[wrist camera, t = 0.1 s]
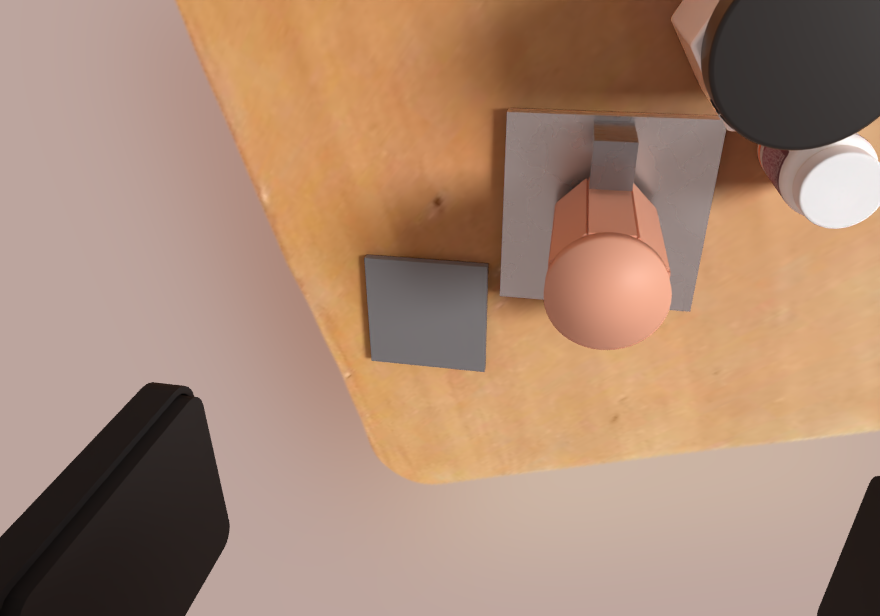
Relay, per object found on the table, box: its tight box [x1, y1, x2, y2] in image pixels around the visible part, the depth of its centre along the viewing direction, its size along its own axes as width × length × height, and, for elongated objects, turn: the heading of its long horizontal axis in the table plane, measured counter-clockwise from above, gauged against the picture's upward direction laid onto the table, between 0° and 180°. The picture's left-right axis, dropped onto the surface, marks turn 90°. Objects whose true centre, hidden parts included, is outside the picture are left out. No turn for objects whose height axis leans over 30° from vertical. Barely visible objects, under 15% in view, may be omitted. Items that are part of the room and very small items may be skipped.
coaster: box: [364, 255, 488, 372], centre depth 52 cm, size 9×9×1 cm
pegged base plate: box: [500, 108, 726, 312], centre depth 41 cm, size 13×13×11 cm
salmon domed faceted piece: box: [544, 177, 672, 350], centre depth 39 cm, size 9×6×10 cm
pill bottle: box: [757, 133, 880, 229], centre depth 38 cm, size 5×5×8 cm
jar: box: [671, 0, 880, 151], centre depth 33 cm, size 9×8×12 cm
